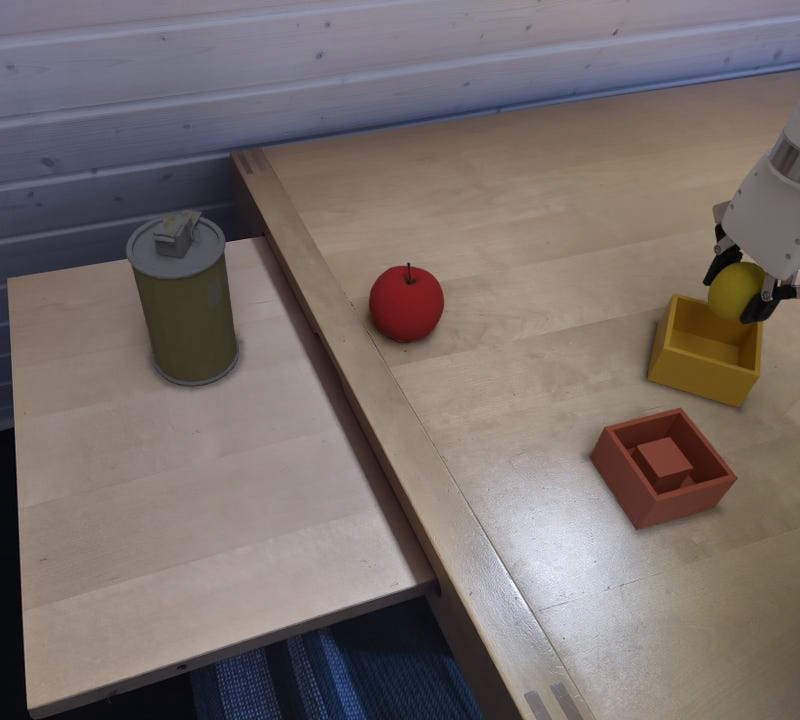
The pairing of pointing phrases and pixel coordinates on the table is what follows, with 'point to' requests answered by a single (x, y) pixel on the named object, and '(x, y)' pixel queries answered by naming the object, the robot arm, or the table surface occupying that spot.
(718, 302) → the lemon
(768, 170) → the robot arm
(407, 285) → the apple
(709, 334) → the yellow bin
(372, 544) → the table surface
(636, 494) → the clay bin
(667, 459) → the clay block
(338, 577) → the table surface
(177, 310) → the canister
